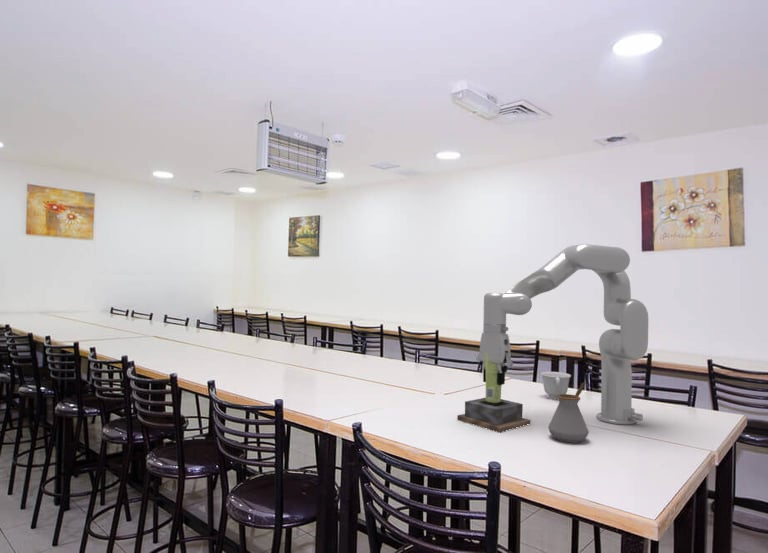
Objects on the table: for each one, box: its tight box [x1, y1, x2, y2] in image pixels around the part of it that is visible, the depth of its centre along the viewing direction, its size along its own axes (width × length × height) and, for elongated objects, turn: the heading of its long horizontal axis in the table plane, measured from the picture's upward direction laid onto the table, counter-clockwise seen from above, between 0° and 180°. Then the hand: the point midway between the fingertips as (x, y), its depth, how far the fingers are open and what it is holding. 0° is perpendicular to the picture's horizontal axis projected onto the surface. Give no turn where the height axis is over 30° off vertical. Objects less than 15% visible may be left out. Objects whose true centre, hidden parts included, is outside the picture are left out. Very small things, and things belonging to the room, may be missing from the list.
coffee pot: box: [547, 382, 590, 444], centre depth 151 cm, size 21×12×15 cm, turn 141°
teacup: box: [540, 371, 572, 400], centre depth 202 cm, size 12×15×10 cm
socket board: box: [456, 397, 531, 433], centre depth 164 cm, size 18×16×6 cm
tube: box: [485, 352, 503, 403], centre depth 165 cm, size 6×5×20 cm
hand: (493, 382), depth 165 cm, fingers closed on tube, 5 cm apart
